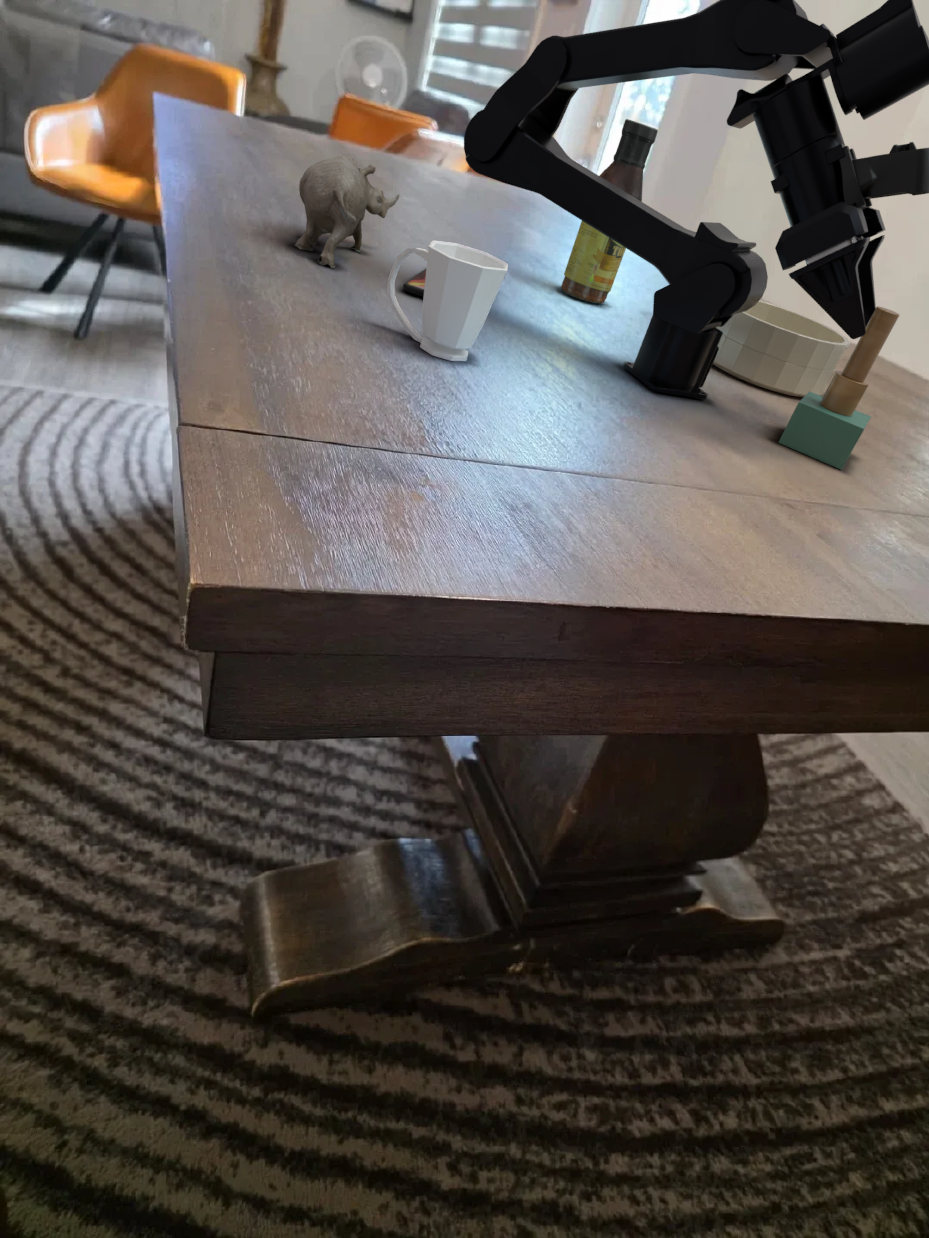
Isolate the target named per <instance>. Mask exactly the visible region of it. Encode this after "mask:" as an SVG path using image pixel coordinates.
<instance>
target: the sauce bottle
mask: <svg viewBox="0 0 929 1238" xmlns="http://www.w3.org/2000/svg"><path fill="white" fill-rule="evenodd" d="M658 133H659V130H658V129H657V128H656V127H652V126H650V125H648V124H644V123H642V122H638V121H636V120H632V119H629V118H625V119H624V123H623V126H622V129H621V136H620V139H619V142H618V144H617V145H618V146H617V148H616V151H615V153H614V155H613V160H612V162H611V163H610V164H609V165H608V166H607V167H606V168H605V169H604V170H603V171H602V172H601V173H600V174H599V176H600V177H602V178H603V179H605V180H607V181H608V182H610V183H611V184H613V185H615V186H616V187H618V188H620V189H621V190H623V191H625V192H626V193H628V194H630V195H631V196H633V197H634V198H636V199H638V200H639V201H641V202H643V187H644V183H643V181H644V170H645V168H646V163H647V160H648V156H649V154H650V151H651V148H652V146H653V145H654V143H655V142H656V139H657V135H658ZM580 221H581V222H580V225H579V227H578V231H577V233H576V237H575V239H574V242H573V246H572V248H571V249H572V250H570V251H571V252H570V255H569V258H568V261H567V264H566V267H565V270H564V273H563V275H564V276H563V277H564V278H563V280H562V283H561V286H560V288H561V290H562V291H563V292H564V293H565V294H567V295H568V296H571V297H574V298H575V299H578V300H580V301H585V302H589V303H593V304H601V305H602V304H603V303H605V302H606V300H607V298H608V295H609V293H610V292H611V291H612V288H613V286H614V282H615V280H616V277H617V275H618V272H619V270H620V266H621V263H622V261H623V257H624V254H625V253H626V250H627V248H625V247H623V246H622V245H620V244H619V243H617V242H615V241H614V240H612V239H611V238H609V237H607V236H606V235H604V234H603V233H601V232H599V231H598V230H596V229H595V228H593V227H591V226H590V225H588V224H587V223H585V222H583V221H582V220H580Z"/></svg>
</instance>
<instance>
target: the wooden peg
mask: <svg viewBox="0 0 929 1238" xmlns="http://www.w3.org/2000/svg"><path fill="white" fill-rule="evenodd" d="M899 318H900V313H898V312H896V311H894V310H892V309H889V308H886V307H883V306H880V305H879V306H877V305H876V309H875V311H874V313H873V315H872V316H871V318H870V320H869V322H868V324H867V326H866V333H865V335H864V336H861V337H859V338H858V341H857V343H856V345H855V347H854V349H853V351H852V353H851V355H850V356H849V359H848V361H847V362H846V364H845V366H844V368H843V370H836V371H835V373H834V375H833V377H832V379H831V381H830V383H829V385H828V387H827V389H826V391H825V393H823V396H822V397H823V398H822V400H821V402H820V404H821V405H822V406H823V407H825V408H826V409H828V410H830V411H832V412H835V413H838V414H841V415H844V416H852V414H853V413H854V411H855V410H856V409H857V408H858V405H859V404H860V402H861V401H862V400H861V399H862V398H863V396H864V394H865V392H866V391H867V388H868V387H869V385H870V384H869V382H868V381H866V379H867V377H868V375H869V372H870V371H871V369H872V367H873V366H874V363H875V362H876V361H877V360H876V359H877V358H878V357H879V354H880V353H881V350H882V349H883V347H884V345H885V343H886V342H887V339H889V335H890V333H891V332H892V330H893V328H894V327H895V325H896V323H897V321H898V319H899Z"/></svg>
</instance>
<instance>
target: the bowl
mask: <svg viewBox="0 0 929 1238" xmlns="http://www.w3.org/2000/svg"><path fill="white" fill-rule="evenodd" d="M716 328H717V329H719V330H720V331H722V332H723V334H722V337H721V339H720V341H719V344H718V347H719V351H718V353H717V355H716V358H715V360H714V362H713V364H712V365H714V366H715V367H717V368H718V369H720V370H722V371H723V372H726V373H727V374H729V375H731V376H733V377H735V378H737V379H740V380H742V381H744V382H746V383H749V384H751V385H754V386H756V387H759V388H762V389H765V390H769V391H772V392H775V393H779V394H783V395H787V396H791V397H792V396H793V397H800V398H803V397H804V396H805V395H806V394H807V393H808V392H813V393H815V394H818V395H820V396H822V395H824V394H825V392H826V390H827V388H828V386H829V384H830V382H831V381H832V379H833V377H834V375H835V373H836V371H838V370H837V369H838V368H839V366H840V364H841V362H842V360H843V358H844V356H845V354H846V352H847V350H848V349H849V347H850V344H851V342H850V340H849V338H848V337H846V336H844V335H843V334H842V333H840V332H839V331H837V330H835V329H833V328H832V327H829V326H827V325H826V324H824V323H822V322H819V321H817V320H815V319H813V318H810V317H808V316H805V315H803V314H801V313H799V312H796V311H793V310H790V309H787V308H785V307H781V306H780V305H779V306H778V305H777V304H776V305H775V304H773V303H770V302H766V301H764V300H761V299H760V300H759V301H758V303H757V304H756V305H755V306H753V307H752V308H750V309H749V310H747V311H744V312H741V313H737V314H734V315H733V316H732V317H731V318H730V320H729V321H728V322H727V323H726V324H725V325H724V326H722V327H716Z"/></svg>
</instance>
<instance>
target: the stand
mask: <svg viewBox="0 0 929 1238" xmlns="http://www.w3.org/2000/svg"><path fill="white" fill-rule="evenodd" d="M822 398H823V396H822V395H818V394H815V393H813V392H808V393H807V394H806V395H805V396H804V397H801V399H800V400H799V401H798V403H797V404H796V406H795V409H794V410H793V412H792V414H791V416H790V418H789V421H788V422H787V424H786V427H785V429H784V431H782V435H781V436H780V439H779V440H778V444H780V445H783V446H785V447H787V448H790V449H792V450H794V451H796V452H799V453H801V454H804V455H806V456H808V457H811V458H812V459H815V460H817V461H819V462H822V463H824V464H827V465H829V466H831V467H833V468H836V469H838V470H840V471H842V470H843V469H844V466H845V464H846V463H847V461H848V459H849V457H850V456H851V454H852V452H853V451H854V448H855V447H856V445H857V443H858V442H859V440H860V438H861V436H862V434H863V432H864V430H865V429H866V427H867V425H868V423H869V421H870V420H871V418H872V416H871V415H869V414H866V413H864V412H861V411H859V410H856V409H855V411H854V413H853V414H852V416H844V415H841V414H838V413H835V412H832V411H830V410H828V409H826V408H825V407H823V406H822V405H821V404H820V402H821V400H822Z"/></svg>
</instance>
